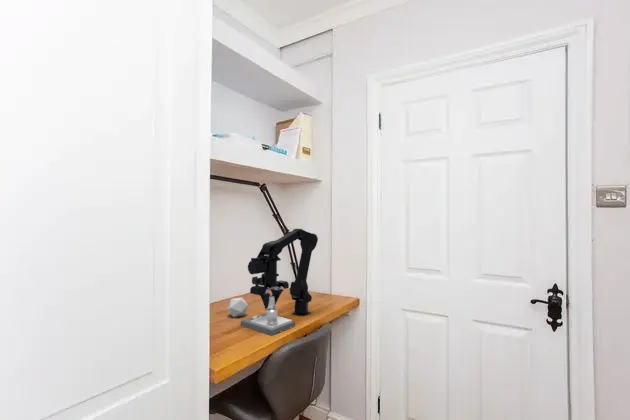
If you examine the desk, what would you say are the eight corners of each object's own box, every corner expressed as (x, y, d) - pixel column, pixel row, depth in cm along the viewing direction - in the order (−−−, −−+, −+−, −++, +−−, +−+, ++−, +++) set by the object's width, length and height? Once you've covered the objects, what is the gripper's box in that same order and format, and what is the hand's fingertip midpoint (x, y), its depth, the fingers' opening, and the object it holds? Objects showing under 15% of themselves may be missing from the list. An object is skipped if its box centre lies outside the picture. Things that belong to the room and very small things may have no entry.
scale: (264, 317, 153) (264, 311, 153) (295, 326, 142) (295, 319, 142) (240, 325, 142) (240, 318, 142) (271, 335, 130) (271, 328, 130)
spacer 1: (276, 309, 146) (277, 295, 146) (269, 311, 143) (269, 297, 143) (269, 307, 149) (270, 294, 149) (262, 309, 145) (262, 295, 145)
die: (244, 313, 162) (231, 297, 162) (254, 307, 157) (242, 290, 157) (233, 324, 155) (220, 307, 155) (243, 318, 150) (230, 300, 150)
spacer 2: (272, 321, 139) (272, 307, 139) (279, 324, 136) (279, 309, 136) (264, 324, 135) (264, 309, 135) (271, 326, 132) (271, 311, 132)
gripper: (272, 267, 158) (272, 299, 158) (241, 272, 143) (241, 308, 143) (289, 269, 151) (289, 303, 151) (259, 275, 137) (259, 313, 136)
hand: (270, 306), depth 146 cm, fingers closed on spacer 1, 4 cm apart
